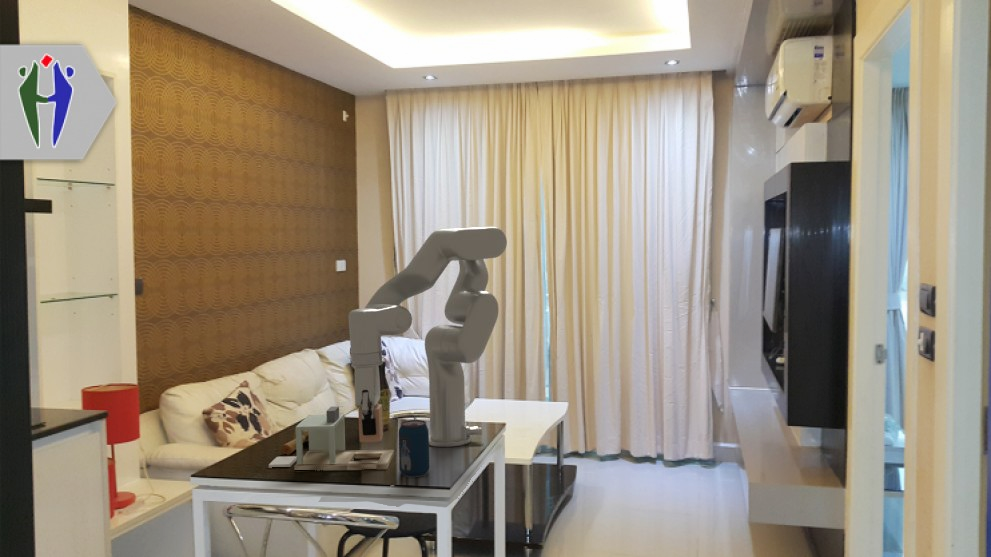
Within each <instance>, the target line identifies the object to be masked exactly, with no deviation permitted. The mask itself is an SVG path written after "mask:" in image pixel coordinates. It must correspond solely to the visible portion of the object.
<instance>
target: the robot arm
mask: <svg viewBox="0 0 991 557" xmlns="http://www.w3.org/2000/svg"><path fill="white" fill-rule="evenodd" d="M507 243H508V241H507V237H506V234H505V233H504V231H503V230H502V229H500V228H499V227H496V226H482V227H481V226H480V227H466V228H465V227H464V228H463V227H462V228H443V229H441V228H440V229H437V230H435V231H433V232H431V233H430V235H429V236H428V238H427V239H426V240H425V241H424V243H423V244H422V245H421V247H420V249H419V250H418V251H417V252H416V253H415V255H414V257H413V258H412V259H411V261H410V262H409V263H408V265H406V267H405V268H404V269H403V270H401V271H400V272H398V273H397V274H395V275H394V276H393V277H392V278H391V279H389V280H388V281H385V283H384V284H382V286H380V287H379V288H378V289H377V290H376V292H375V293H374V294H373V295H372V296H371V298H370V299H369V300H368V302H367V304H366V306H364V308H357V309H352V310H350V312H349V313H348V327H349V328H348V329H349V330H348V331H349V343H350V344H349V345H350V347H349V348H350V359H351V360H350V361H351V367H353V368H355V369H354V402H355V403H354V404H355V407H356V408H357V409H359V408H360V407H361V406H362V429H363V435H376V420H375V418H374V406H375V405H378V401H379V399H380V377H379V365H382V364H383V361H384V360H383V351H382V350H383V347H382V346H383V345H382V336H399V335H400V336H401V335H403V334H404V333H406V332H407V331H409V330H410V328H411V326H412V324H413V317H412V314H411V312H410V311H409V310H408V309H407V308H406V307H404V306H402V305H400V304H402V303H404V302H405V301H406V300H409V298H412V297H415V296H416V295H417V296H418V295H420V294H423V293H424V292H426V291H428V290H430V289H432V288H433V287H434V286H435V285H436V283H437V281H438V279H439V278H440V276H441V275H442V274H443V273H444V271H445V269H446V268H447V267H448V265H449V264H450V263H451V262H452V261H458V265H459V272H458V275H457V278H456V280H455V283H454V285H453V287H452V289H451V292H450V293H449V296H448V298H447V301H446V303H445V306H444V315H445V318H446V319H447V321H449V322H450V323H452V324H456V325H451V324H439V325H436V326H433V327H431V328H430V330H428V332H427V333H426V335H425V338H424V350H425V351H424V352H425V355H426V356H425V357H426V360H427V365H428V382H429V384H428V386H429V387H428V388H429V390H428V391H429V393H428V394H429V396H428V397H429V446H433V447H438V448H439V447H441V448H442V447H443V448H444V447H446V448H447V447H449V448H450V447H459V446H463V445H466V444H469V443H470V442H471V441H472V436H473V435H474V436H482V434H483V428H482V427H478V426H468V424H467V423H468V422H467V421H466V407H465V406H466V404H465V403H466V402H465V401H466V400H465V394H466V393H465V392H466V391H465V374H464V368H463V366H462V364H473V363H475V362H477V361H478V360H479V359H480V358H481V357H482V355H483V353H484V352H485V349H486V347H487V345H488V343H489V340H490V339H491V338H490V337H491V335H492V333H493V331H494V327H495V325H496V323H497V320H498V316H499V303H498V300H497V298H496V297H495V295H494V294H492V293H490V292H489V291H486V289H487V285H488V282H489V272H488V268H487V266H486V262H485V260H486V259H495V258H498V257H500V256H501V255H503V253H504V252H505V250H506V249H507ZM461 325H462V326H461ZM368 405H372V406H368ZM369 409H371V411H370V410H369Z"/></svg>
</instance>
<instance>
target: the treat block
mask: <svg viewBox="0 0 991 557" xmlns="http://www.w3.org/2000/svg"><path fill="white" fill-rule="evenodd" d="M368 406H372V405H368ZM369 410H370V411H371V409H369ZM357 412H358V432H359V436H358V437H359V443H376V442H377V443H379V442H381V441H382V439H383V437H384V430H383V420H382V404H379V405H375V406H374V418H375V420H376V435H363V429H362V405H360V407H359V408H358V410H357Z"/></svg>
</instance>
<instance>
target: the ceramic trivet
mask: <svg viewBox="0 0 991 557" xmlns="http://www.w3.org/2000/svg"><path fill="white" fill-rule="evenodd" d="M295 462H297V455H296V456H295V455H294V456H293V455H292V456H290V455H286V456H276V457H275V458H274V459H273V460H272V461H271V462H270V463H269V464H268V469H273V468H272V467H292V466H293V464H295Z"/></svg>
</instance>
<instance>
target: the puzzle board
mask: <svg viewBox="0 0 991 557" xmlns="http://www.w3.org/2000/svg"><path fill="white" fill-rule="evenodd" d="M335 454H336V462H335V463H332V464H330V459H329V450H325V451H309V450H308V451H307V452H306V453H305V454H303V463H302V464H297V463H296V464H294V466H293V468H294V470H315V471H316V470H317V472H319V471H320V470H321V471H322V470H323V471H363V470H364V469H377V470H388V468H389V466H390V464H391V462H392V460H393V458H394V456H395V449H367V450H362V449H361V450H360V449H359V450H357V449H356V450H335ZM379 457H380V458H379ZM354 458H355V459H378V460H365V461H364V460H363V461H362V460H361V461H358V460H357V461H356V460H355V459H354ZM354 460H355V461H354ZM362 469H363V470H362ZM294 470H293V471H294ZM315 471H314V472H315ZM364 471H365V470H364Z"/></svg>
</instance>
